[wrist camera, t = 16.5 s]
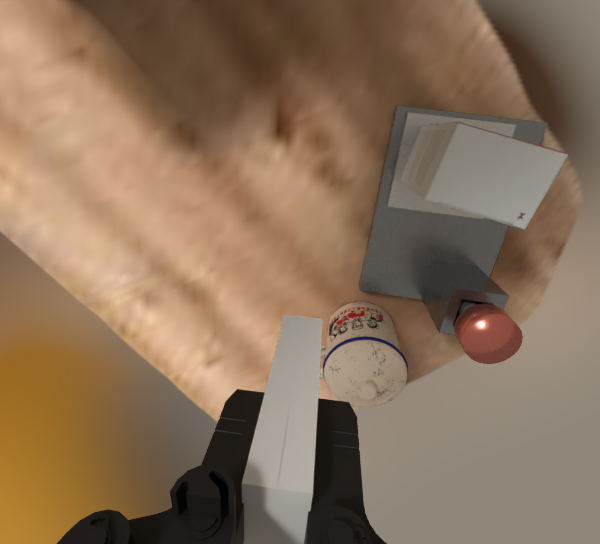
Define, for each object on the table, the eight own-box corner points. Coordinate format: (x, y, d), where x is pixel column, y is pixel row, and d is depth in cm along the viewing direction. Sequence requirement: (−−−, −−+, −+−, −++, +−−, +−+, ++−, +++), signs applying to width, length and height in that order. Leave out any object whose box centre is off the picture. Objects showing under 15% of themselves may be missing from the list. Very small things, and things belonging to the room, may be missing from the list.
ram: (437, 266, 36) (473, 314, 26) (479, 272, 36) (531, 322, 26) (426, 302, 38) (456, 359, 28) (466, 308, 38) (510, 367, 28)
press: (395, 106, 32) (413, 98, 25) (538, 123, 32) (604, 119, 24) (358, 285, 41) (364, 321, 33) (472, 301, 40) (505, 342, 32)
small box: (500, 147, 31) (574, 153, 21) (472, 203, 33) (527, 232, 24) (420, 123, 31) (458, 118, 21) (398, 181, 33) (422, 200, 24)
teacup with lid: (384, 290, 40) (400, 346, 30) (403, 348, 43) (424, 418, 33) (295, 315, 43) (281, 375, 33) (318, 368, 46) (313, 439, 36)
